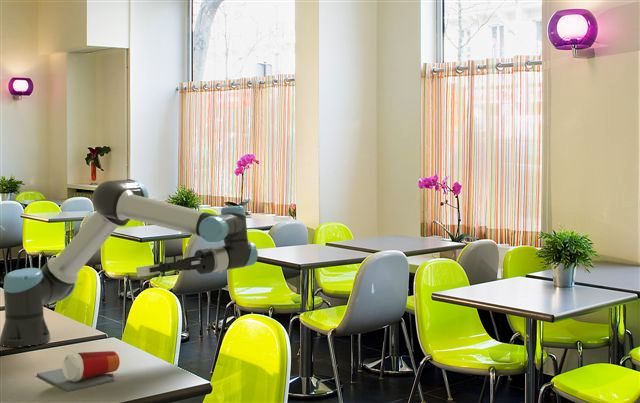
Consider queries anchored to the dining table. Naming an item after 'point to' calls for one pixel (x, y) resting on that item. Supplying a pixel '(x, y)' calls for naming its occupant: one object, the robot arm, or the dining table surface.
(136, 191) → the robot arm
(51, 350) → the dining table surface
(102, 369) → the paper cup
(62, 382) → the mat
